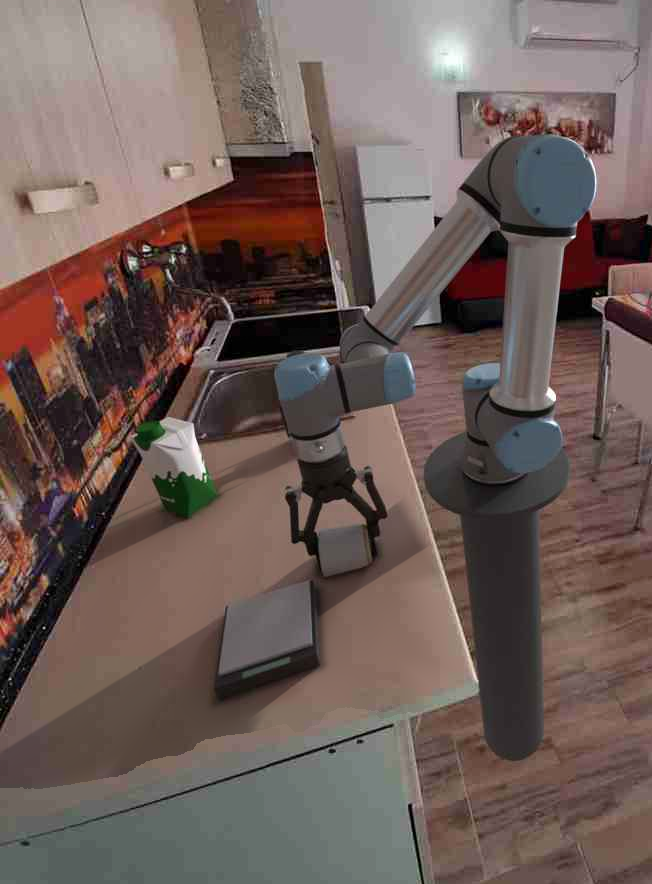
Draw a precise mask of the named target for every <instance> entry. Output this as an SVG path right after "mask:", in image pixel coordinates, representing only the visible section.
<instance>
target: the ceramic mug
mask: <svg viewBox="0 0 652 884" xmlns="http://www.w3.org/2000/svg"><path fill="white" fill-rule="evenodd" d="M317 536H318V549H319V558H320V563H321V569H322V576H323V577H324V578H326V577H331V576H336V575H339V574H343V573H347V572H350V571H354V570H357V569H362V568H364V567H367V566H369V565H370V564H371V563H372V561H373V554H372V547H371V543H370V538H369V534H368V529H367V524H364V523H357V524H349V525H345V526H339V527H332V528H326V529H321V530H319V531H318V533H317Z"/></svg>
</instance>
